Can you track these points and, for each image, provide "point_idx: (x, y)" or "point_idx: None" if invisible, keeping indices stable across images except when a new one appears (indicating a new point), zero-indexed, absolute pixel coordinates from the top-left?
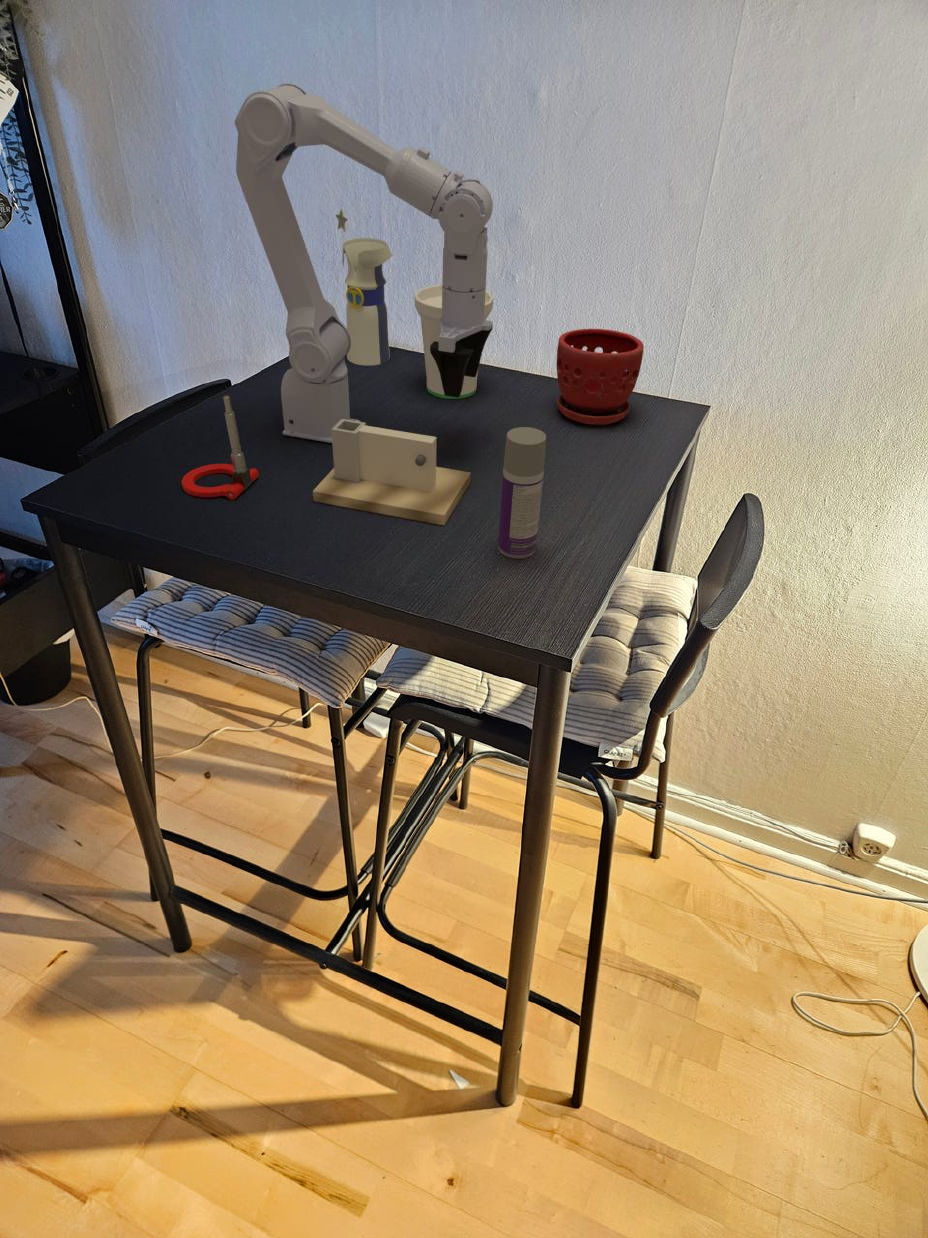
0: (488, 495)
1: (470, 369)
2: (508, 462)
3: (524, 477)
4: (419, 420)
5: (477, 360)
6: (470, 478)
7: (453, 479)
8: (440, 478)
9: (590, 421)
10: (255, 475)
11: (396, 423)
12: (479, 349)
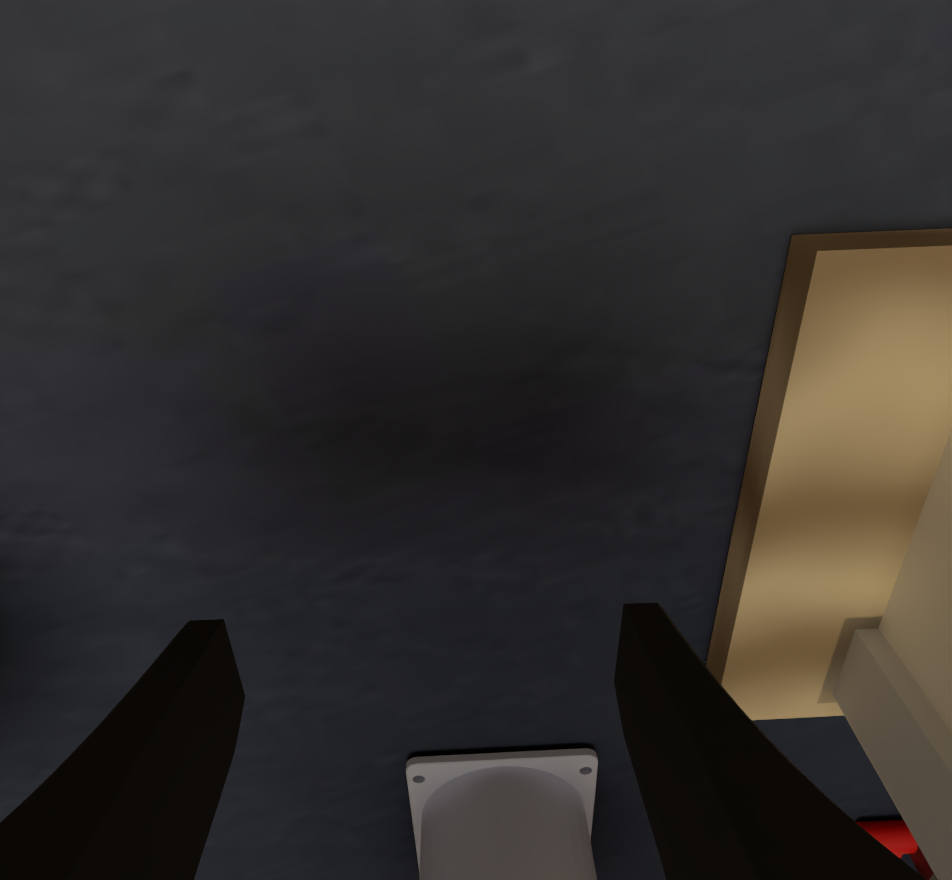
0: (924, 93)
1: (212, 694)
2: None
3: None
4: (263, 618)
5: (162, 732)
6: (802, 240)
7: (904, 310)
8: (898, 369)
9: None
10: (888, 833)
11: (338, 672)
12: (109, 836)
